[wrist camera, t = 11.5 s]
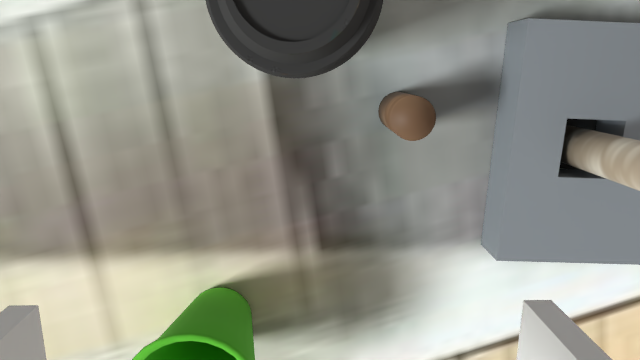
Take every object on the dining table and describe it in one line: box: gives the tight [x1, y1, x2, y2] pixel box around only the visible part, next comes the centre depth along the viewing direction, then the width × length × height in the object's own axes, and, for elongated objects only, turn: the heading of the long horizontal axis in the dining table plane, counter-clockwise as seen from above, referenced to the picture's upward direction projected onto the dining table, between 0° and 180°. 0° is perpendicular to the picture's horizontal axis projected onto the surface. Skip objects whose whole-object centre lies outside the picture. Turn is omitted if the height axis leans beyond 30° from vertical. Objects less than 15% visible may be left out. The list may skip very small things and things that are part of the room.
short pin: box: [379, 92, 436, 141], centre depth 35 cm, size 3×3×6 cm
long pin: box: [560, 126, 640, 191], centre depth 32 cm, size 3×3×14 cm
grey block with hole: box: [481, 18, 640, 265], centre depth 37 cm, size 18×12×4 cm, turn 178°
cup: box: [132, 287, 255, 360], centre depth 36 cm, size 9×9×11 cm
